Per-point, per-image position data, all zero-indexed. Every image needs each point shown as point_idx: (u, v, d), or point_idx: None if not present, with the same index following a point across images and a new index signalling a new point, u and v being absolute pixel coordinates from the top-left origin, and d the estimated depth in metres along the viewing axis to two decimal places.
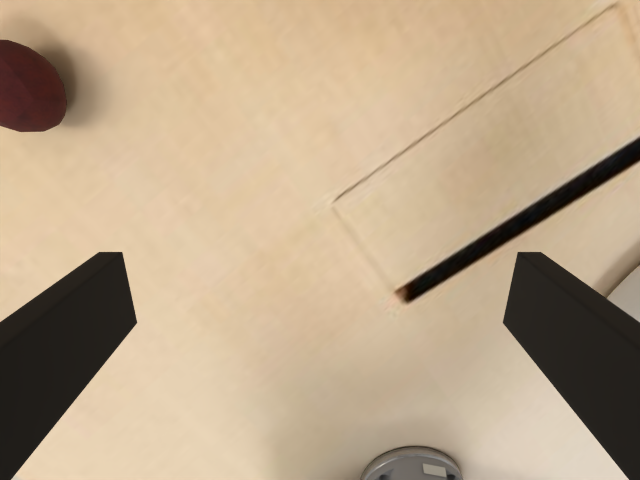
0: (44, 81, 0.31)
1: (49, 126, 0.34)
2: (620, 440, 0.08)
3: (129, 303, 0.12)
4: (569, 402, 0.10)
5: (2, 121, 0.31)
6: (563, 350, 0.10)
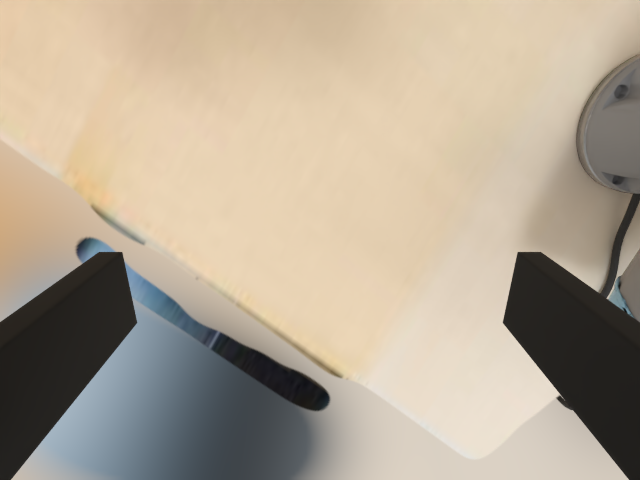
0: None
1: None
2: (621, 440, 0.08)
3: (129, 303, 0.12)
4: (569, 402, 0.10)
5: None
6: (563, 350, 0.10)
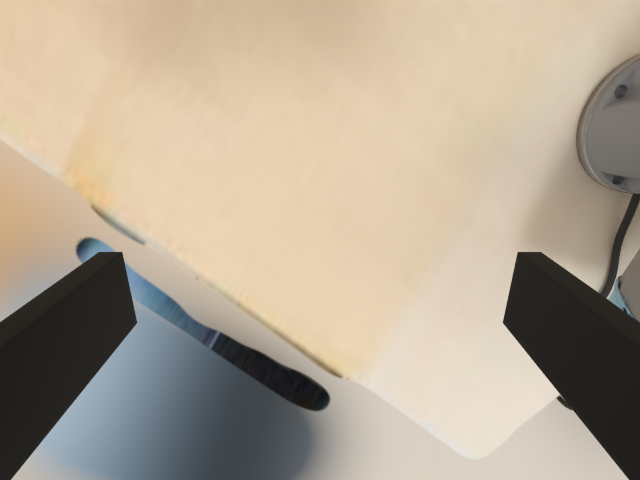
0: None
1: None
2: (621, 440, 0.08)
3: (129, 303, 0.12)
4: (569, 402, 0.10)
5: None
6: (563, 350, 0.10)
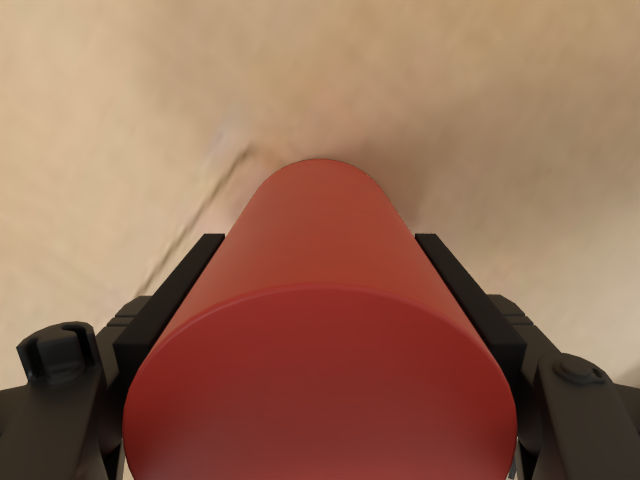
0: None
1: None
2: None
3: None
4: None
5: None
6: None
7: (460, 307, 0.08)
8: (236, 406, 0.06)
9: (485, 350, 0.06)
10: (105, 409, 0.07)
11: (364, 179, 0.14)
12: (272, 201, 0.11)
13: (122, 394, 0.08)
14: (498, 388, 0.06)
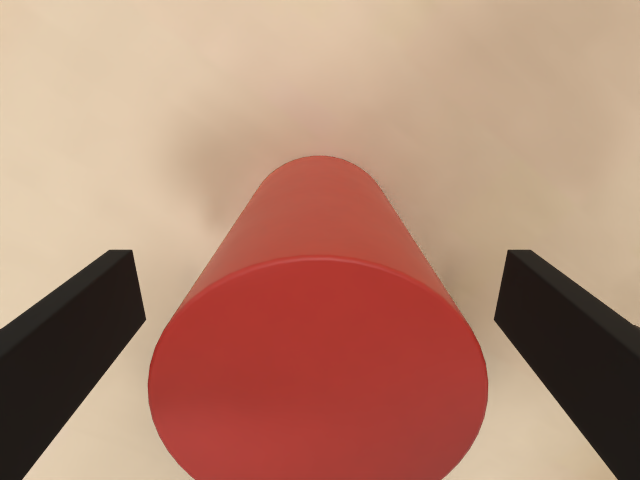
0: None
1: None
2: (603, 432, 0.08)
3: (139, 300, 0.13)
4: (556, 396, 0.10)
5: None
6: (550, 345, 0.10)
7: None
8: (246, 363, 0.07)
9: (458, 313, 0.07)
10: None
11: (360, 174, 0.15)
12: (275, 193, 0.12)
13: None
14: (470, 347, 0.07)
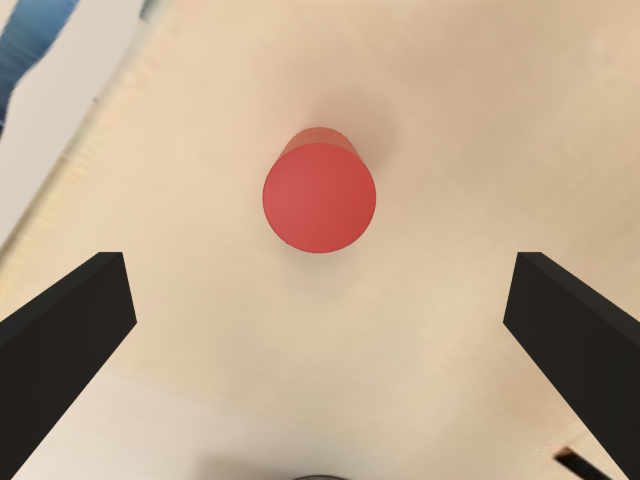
0: None
1: None
2: (620, 440, 0.08)
3: (129, 303, 0.12)
4: (569, 402, 0.10)
5: None
6: (563, 350, 0.10)
7: None
8: (296, 181, 0.22)
9: (362, 163, 0.22)
10: None
11: (340, 135, 0.30)
12: (300, 137, 0.27)
13: None
14: (367, 175, 0.22)
